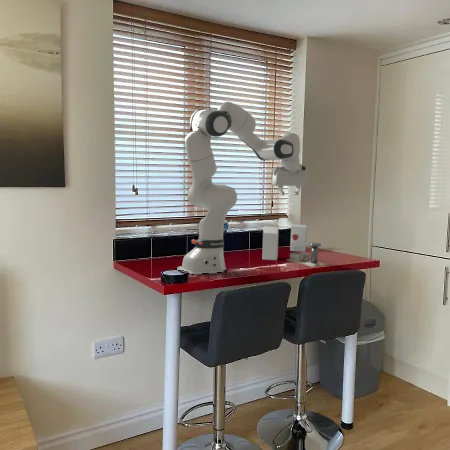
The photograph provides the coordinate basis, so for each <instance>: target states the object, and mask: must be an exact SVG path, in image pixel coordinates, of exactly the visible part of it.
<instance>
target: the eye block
mask: <svg viewBox="0 0 450 450" xmlns="http://www.w3.org/2000/svg"><path fill="white" fill-rule="evenodd" d="M310 257H311V255H310V253H306V252H302V251H294V252H289V259H286V261H288V262H291V263H295V264H299V265H304V266H308V267H312V268H313V267H321V266H328V265H329V264H328V263H323V262H320V261H317V263H316V264H314V263H311V259H310Z"/></svg>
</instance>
